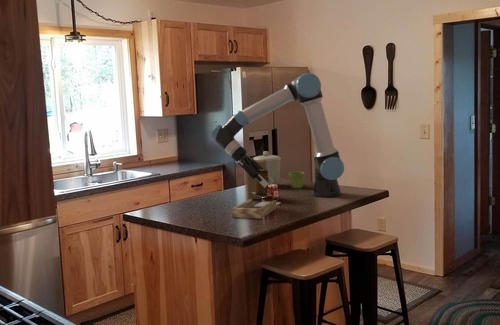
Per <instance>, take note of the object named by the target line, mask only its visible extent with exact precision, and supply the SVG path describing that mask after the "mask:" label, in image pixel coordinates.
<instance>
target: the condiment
mask: <svg viewBox="0 0 500 325" xmlns="http://www.w3.org/2000/svg"><path fill="white" fill-rule="evenodd" d="M257 173H258V174H260V175H261V176H262V177H263V178H264V179H265V180H266V181H267V182H268V170H266V169H258V170H257ZM252 193H253V194H255V195H257V196H259V197H265V196H267V197H273V195H272V194H270V193H269V187H268V185H267V186H266V187H265V188H264V187H263V186H262V185H261V184H260V183H259V182H258V181H257V180H256V189H255V192H252Z"/></svg>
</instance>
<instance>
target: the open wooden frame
mask: <svg viewBox="0 0 500 325" xmlns="http://www.w3.org/2000/svg"><path fill="white" fill-rule="evenodd" d="M268 202H269V203H267V204H266V205H264V206H262V207H258V208H253V199H248V200H245V201H243V202H242V203H240V204H238V205H236V206H234V207H232V208H231V217H232V218H243V219H244V218H245V219H246V218H247V219H263V217H265V216H267V215H269V214H270V213H272V212H273V211H275V210H276V209H277V206H276V202H277V200H275V199H273V200H271V201H268Z"/></svg>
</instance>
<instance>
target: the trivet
mask: <svg viewBox="0 0 500 325" xmlns="http://www.w3.org/2000/svg"><path fill="white" fill-rule="evenodd" d="M269 202H270V201H261V202H259V203H256V204H255V205H254V208H261V207H262V206H264V205H266V204H267V203H269ZM281 203H282V202H280V201H276V207H277V206H278V205H280V204H281Z"/></svg>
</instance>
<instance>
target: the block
mask: <svg viewBox="0 0 500 325" xmlns="http://www.w3.org/2000/svg"><path fill="white" fill-rule="evenodd" d="M255 161H256V162H257V163H258V164H259V165H260V166H261V167H262V168H263V169H266V170H267V167H266V160H264V159H262V160H255ZM246 185H247V186H246V188H247V199H248V200H249V199H252V200H263V199H262V197H259V196H257V195H255V194H253V193H252V192H255V189H256V179H255V178H254V179H253V178H252V177H251V176H250V175H249V174H248V173H247V172H246Z"/></svg>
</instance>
